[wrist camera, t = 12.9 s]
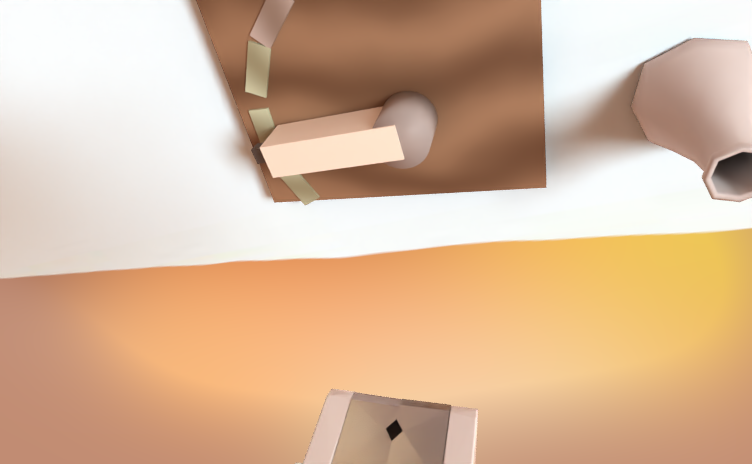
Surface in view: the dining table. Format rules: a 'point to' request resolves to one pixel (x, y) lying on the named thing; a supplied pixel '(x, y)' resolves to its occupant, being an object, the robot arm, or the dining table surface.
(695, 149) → the flask
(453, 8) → the board
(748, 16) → the dining table surface
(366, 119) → the peg lever
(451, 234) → the dining table surface
